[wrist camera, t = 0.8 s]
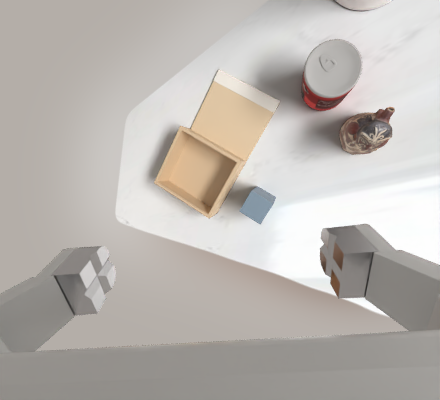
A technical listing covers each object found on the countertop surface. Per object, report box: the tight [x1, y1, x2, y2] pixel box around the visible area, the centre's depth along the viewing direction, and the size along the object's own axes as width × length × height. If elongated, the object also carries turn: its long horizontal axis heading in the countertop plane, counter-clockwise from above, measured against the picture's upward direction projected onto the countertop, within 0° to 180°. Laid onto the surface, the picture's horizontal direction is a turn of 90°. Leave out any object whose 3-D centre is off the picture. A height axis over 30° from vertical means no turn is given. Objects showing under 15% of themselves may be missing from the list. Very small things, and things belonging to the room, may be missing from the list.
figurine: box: [339, 107, 395, 155], centre depth 39 cm, size 7×7×12 cm
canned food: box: [302, 39, 362, 111], centre depth 40 cm, size 8×8×11 cm
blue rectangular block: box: [240, 186, 276, 224], centre depth 48 cm, size 4×4×8 cm
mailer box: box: [154, 70, 280, 218], centre depth 50 cm, size 26×14×6 cm, turn 150°
